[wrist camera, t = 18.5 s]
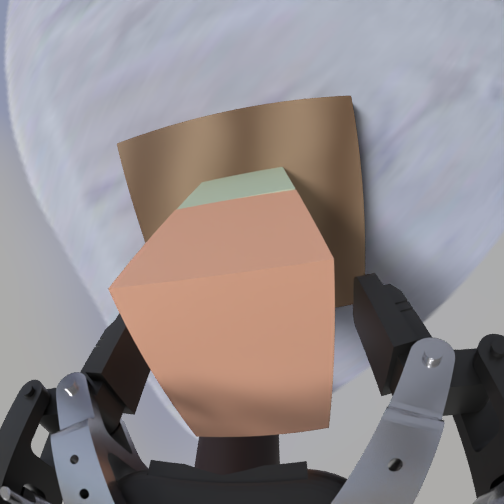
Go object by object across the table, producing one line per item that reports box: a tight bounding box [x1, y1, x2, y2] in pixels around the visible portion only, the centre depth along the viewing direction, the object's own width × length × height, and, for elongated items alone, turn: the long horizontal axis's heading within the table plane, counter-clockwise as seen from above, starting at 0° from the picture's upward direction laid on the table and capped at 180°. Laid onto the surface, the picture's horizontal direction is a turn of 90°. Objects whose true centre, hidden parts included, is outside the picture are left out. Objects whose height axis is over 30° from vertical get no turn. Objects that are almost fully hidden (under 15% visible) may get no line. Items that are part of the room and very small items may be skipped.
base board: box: [117, 96, 365, 308], centre depth 19 cm, size 15×15×2 cm
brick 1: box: [176, 167, 295, 210], centre depth 15 cm, size 5×7×6 cm
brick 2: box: [109, 190, 335, 437], centre depth 10 cm, size 5×7×6 cm
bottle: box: [195, 434, 280, 475], centre depth 17 cm, size 7×7×20 cm
